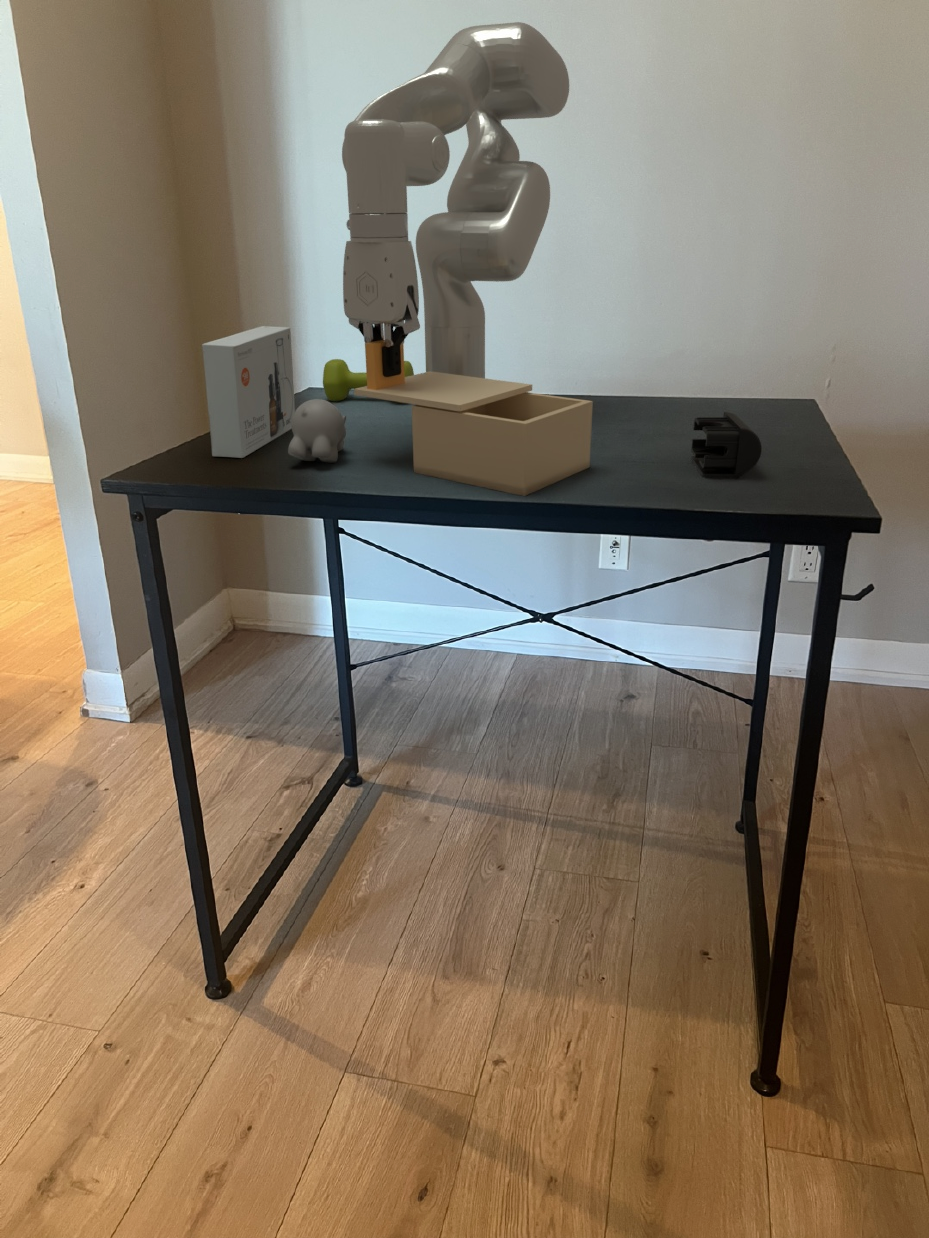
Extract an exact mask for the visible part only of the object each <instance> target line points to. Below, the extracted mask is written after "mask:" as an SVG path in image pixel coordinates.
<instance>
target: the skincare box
mask: <svg viewBox="0 0 929 1238" xmlns="http://www.w3.org/2000/svg"><path fill="white" fill-rule="evenodd" d="M201 351H202V358H203V359H202V360H203V368H204V369H203V370H204V380H205V391H206V402H207V411H208V422H209V432H210V433H209V434H210V444H211V445H210V446H211V456H212V457H223V458H239V459H243V458H245V457H246V456H248V455H250V454H252V453H254V452H255V451H256V450H258V449H260V448H262V447H263V446H265V445H267V444H268V443H270V442H272V441H274V440H275V439H277V438H279V437H281V436H282V435H285V434H286V432H289V431H290V430H292V418H293V415H294V413H295V411H296V405H295V404H296V403H295V388H294V387H295V386H294V372H293V371H294V370H293V354H292V353H293V352H292V335H291V327H290V326H289V327H288V326H270V325H269V326H267V325H261V326H257V327H255V328H251V329H248V330H247V329H246V330H245V331H240V332H238V333H235V334H232V335H228V336H226V337H222V338H219V339H215V340H211V341H208V342H204V343H202V344H201Z"/></svg>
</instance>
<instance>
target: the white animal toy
mask: <svg viewBox="0 0 929 1238" xmlns="http://www.w3.org/2000/svg"><path fill="white" fill-rule="evenodd" d="M346 421H347V415H342V413H341V412H340V410H339V409H338V407H337V406H336V405H334V404H333V403H331V401H327V400H325V399H321V398H314V399H309V400H307V401H304V402H302V403H301V404H300V405H299V406H298V407H297V408H295V413H294V415H293V418H292V429H291V431H292V434H293V437H292V439H291V440H290V442H289V444H288V447H287V453H288V455H290V456H291V457H294V458H298V459H300V460H302V461H306V462H315V461H316V459H317V458H318V459H319V460H320V461H321V462H323V463H329V464H330V463H336V462H337V461H338V457H339V453H338V452H340V451H341V450H343V448H344V446H345V439H346V436H347V428H346V426H345V424H346Z"/></svg>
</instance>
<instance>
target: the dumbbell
mask: <svg viewBox="0 0 929 1238" xmlns="http://www.w3.org/2000/svg"><path fill="white" fill-rule="evenodd" d="M404 373H405V377H408V376H412V375H415V372H414V367H413V365H412V363H411V362H410V361H409V360H404ZM364 386H367V373H366V372H353V371H351V370H350V369H349V366H348V364H347V362H346V361H345V360H344V359H341V358H334V359H329V360H328V361H327V362H325V364H324V367H323V374H322V387H323V390H324V394H325V396H326V398H327V399H328V400H329V402H341V401H344V400H345V399H346V398H347V397H348V396H349V393H350V391H351V390H354V389H356V388H360V387H364ZM393 402H394V403H396V404H404V403H403V402H397V401H393Z"/></svg>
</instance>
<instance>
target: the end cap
mask: <svg viewBox="0 0 929 1238" xmlns="http://www.w3.org/2000/svg"><path fill="white" fill-rule="evenodd" d="M693 431H702V432H704V435H706V438H692V439H691V448H690V449H691V453H692V456H691V458H690V461H691V460H692V461H691V463H692V462H693V463H692V464H693V466H694V467H695V466H696V467H695V469H696V468H697V469H696V470H697V471H699V472H700V473H699V472H698V473H699V474H701V475H700V476H701V478H703V477H705V479H736V477H737V478H739V477H742V476H743V475H745V473H748V471H750V470H752V469H753V468H754V467H755V466H756V465H757V463H758V462H759V460H760V458H761V455H762V441H761V440H760V437H758V435H757V434H756V433H755V431H753V430H752V429H751V428H750V427H749V426H748V425H747V424H746V423H745V422H744V421H743V420H742V419H741V418H740V417H739V416H738V415H736V414H735V413H731V412H728V411H723V417H719V416H717V417H716V416H710V417H709V416H707V417H706V416H704V417H702V416H700V417H699V416H698V417H695V418H694V421H693Z"/></svg>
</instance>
